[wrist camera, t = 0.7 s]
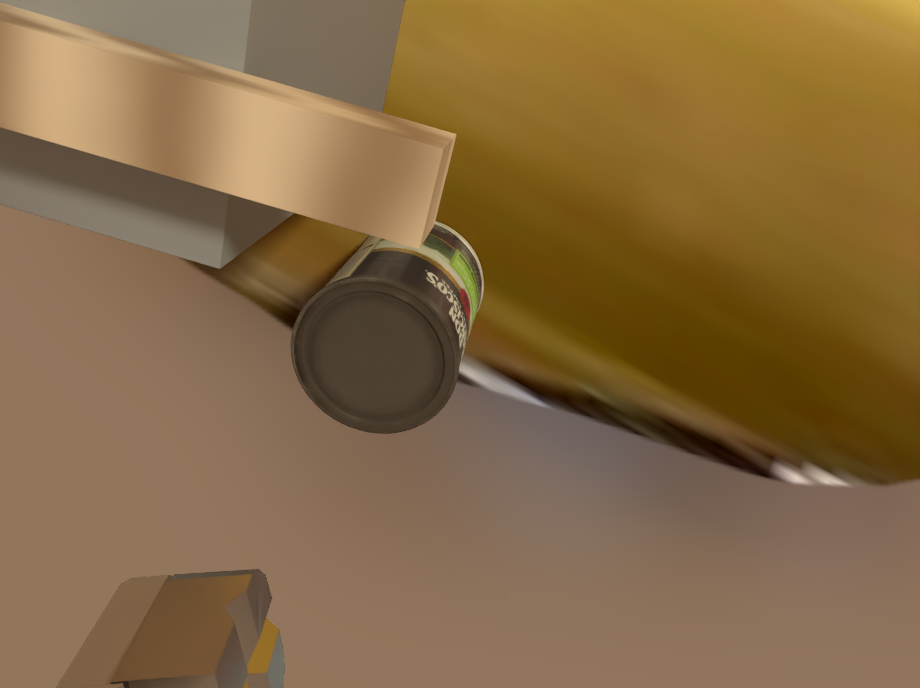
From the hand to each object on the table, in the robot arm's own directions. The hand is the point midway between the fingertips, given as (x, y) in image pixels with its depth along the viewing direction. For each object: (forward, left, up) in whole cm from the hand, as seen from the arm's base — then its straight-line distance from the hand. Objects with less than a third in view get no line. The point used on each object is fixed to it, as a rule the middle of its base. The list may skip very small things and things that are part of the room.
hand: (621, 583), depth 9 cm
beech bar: (+8, -12, -20) cm, 25 cm away
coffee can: (+18, +1, -47) cm, 50 cm away
